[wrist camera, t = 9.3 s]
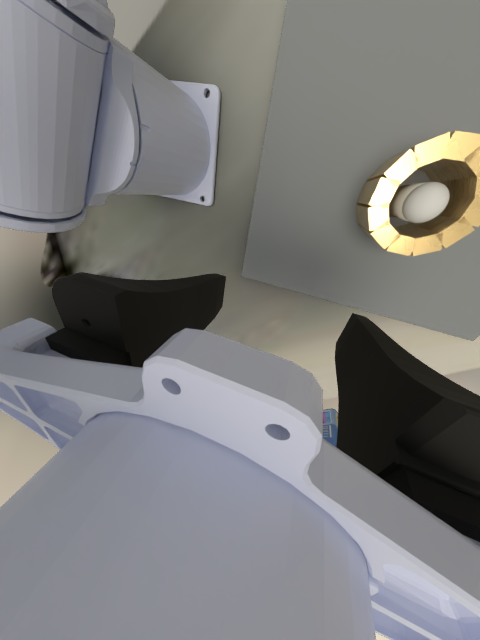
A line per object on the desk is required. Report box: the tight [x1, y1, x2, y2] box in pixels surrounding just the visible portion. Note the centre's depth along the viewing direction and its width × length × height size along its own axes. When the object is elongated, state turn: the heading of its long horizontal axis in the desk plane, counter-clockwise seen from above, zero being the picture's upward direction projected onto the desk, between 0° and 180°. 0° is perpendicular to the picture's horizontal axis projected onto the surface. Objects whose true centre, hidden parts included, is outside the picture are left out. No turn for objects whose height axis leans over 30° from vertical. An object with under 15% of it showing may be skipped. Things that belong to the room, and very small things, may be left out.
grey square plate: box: [241, 0, 480, 341], centre depth 13 cm, size 22×18×6 cm
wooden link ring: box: [356, 131, 480, 256], centre depth 13 cm, size 6×6×5 cm
